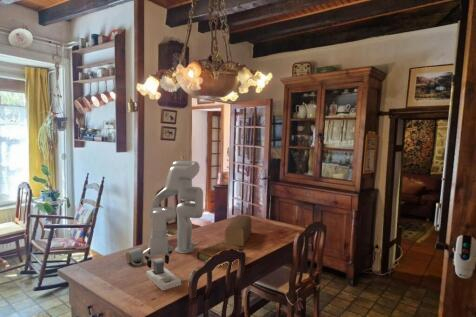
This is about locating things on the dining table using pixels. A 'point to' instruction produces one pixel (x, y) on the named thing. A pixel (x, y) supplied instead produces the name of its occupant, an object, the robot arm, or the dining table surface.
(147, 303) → the dining table surface
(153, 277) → the jack panel
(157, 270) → the plug
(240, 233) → the bread
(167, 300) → the dining table surface
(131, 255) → the ceramic mug
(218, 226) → the dining table surface
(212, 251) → the diary
